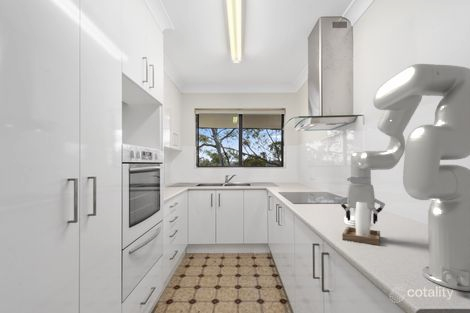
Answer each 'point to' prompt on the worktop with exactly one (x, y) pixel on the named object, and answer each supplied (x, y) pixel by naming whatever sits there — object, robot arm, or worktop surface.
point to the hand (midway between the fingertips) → (361, 221)
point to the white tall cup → (362, 219)
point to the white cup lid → (351, 222)
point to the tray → (351, 236)
